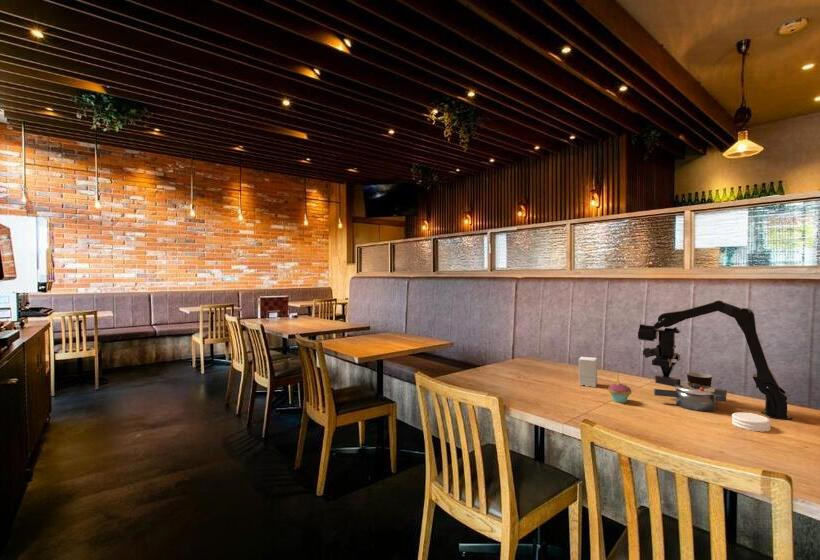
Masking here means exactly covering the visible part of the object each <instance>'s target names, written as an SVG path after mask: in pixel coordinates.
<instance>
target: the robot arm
mask: <svg viewBox="0 0 820 560" xmlns="http://www.w3.org/2000/svg"><path fill="white" fill-rule="evenodd" d="M716 312H718V313H719V312H720V313H722V314H724V315H727V316H729V317H731V318H734V319H735V322H736V323H737V326H738V327H739V328H740V329H741V332H742V333H743V334H744V338H745V340H746V342H747V343H746V344H747V346H748V349H749V351H750V354H751V357H752V361H753V364H754V366H755V370H756V373H753V374H752V379H753V381H754V383H755V389H758V390H759V392H760V393H761V394H763V395H764V396H765V401H764V402H765V405H764V406H765V410H761V411H760V413H761V414H763V415H765V416H766V417H769V418H771V419H780V420H781V419H783V420H793V417H792V416H790V415H788V401H787V400H788V394H787V391H786V390H785V389H783V388H782V387H781V386H780V384H779V381H778V380H777V378H776V376H775V374H774V373H773V371H772V370H771V369H770V367H769V364H768V361H767V358H766V355H765V352H764V350H763V347H762V344H761V341H760V338H759V334H758V332H757V325H756V315H755V312H754V311H753V310H752V309H750V308H749V307H738V306H735V305H733V304H730V303H727V302H725V301H723V300H716V301H713V302H709V303H706V304H701V305H699V306H695V307H691V308H689V309H684V310H677V311H676V310H675V311H668V312H667V311H666V312H664V313H661V314H659V315H658V317H657V322H656V323H654V325H651V324H650V325H649V324H648V325H647V324H639V328H638V331H637V339H638V340H639V341H647V342H654V341H656V340H658V344H657V345H656V347H651V348H650V347H647V348H645V347H644V348H643V350H642V355H643V356H644V358H646V359H648V358H651V357H654V358H653V359H651V366H656V367H660V369H661V372H662V376H667V377H671V374H672V373H673V370H674V369H675V367H676V365H677V361H678V362H679V361H681V355H680V354H679V353H678V352H676V348H677V345H676V339H675V338H676V334H680V333H682V332H681V330H680V329H679V328H678V327H677V326H675V325H676V324H679V323H681V322H683V321H685V320H688V319H691V318H692V319H693V318H696V317H699V316H700V317H701V316H704V315H708V314H712V313H716ZM672 326H674V327H672ZM671 327H672V328H671ZM662 328H664V329H662ZM673 360H676V362H673Z"/></svg>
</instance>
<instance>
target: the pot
mask: <svg viewBox="0 0 820 560" xmlns="http://www.w3.org/2000/svg"><path fill="white" fill-rule="evenodd" d="M653 394H654V396H658V397H671V398H675V405H676V406H677V405H678V407H679V408H682V409H685V410H689V411H695V412H701V413H703V412H704V413H711V412H712V413H713V412H716V411H717V402H724V403H725V402H727V396H719V395H695V394H689V393H685V392H681V391H678V390H676V389H675V390H672V389H671V390H669V389H662V388H661V389H660V388H659V389H656V388H653Z"/></svg>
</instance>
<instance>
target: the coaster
mask: <svg viewBox="0 0 820 560" xmlns="http://www.w3.org/2000/svg"><path fill="white" fill-rule="evenodd" d="M731 423H732V425H733V426H735V427H736V426H737V428H739V429H742V428H743V429H742V430H746V429H747V431H750V430H752V431H751V432H757V431H760V433H766V432H765V431H767V432H769V431H771V420H770V419H769V418H768V417H767V416H766V417H765V416H763V415H760V414H756V413H749V412H742V411H741V412H739V411H738V412H734V413H732V414H731Z"/></svg>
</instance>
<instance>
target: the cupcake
mask: <svg viewBox="0 0 820 560" xmlns="http://www.w3.org/2000/svg"><path fill="white" fill-rule="evenodd" d="M608 393H609V394H610V395H611V398H612V400H613V401H614V402H615V403H619V402H620V404H621V403H622V404H624V403H625V404H626V403H627V402H628V398H629V396H630V395H631V394H632V389H631V388H630V386H627V384H624V383H620V381H619V374H618V373H616V383H612V384H610V385H609V386H608Z"/></svg>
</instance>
